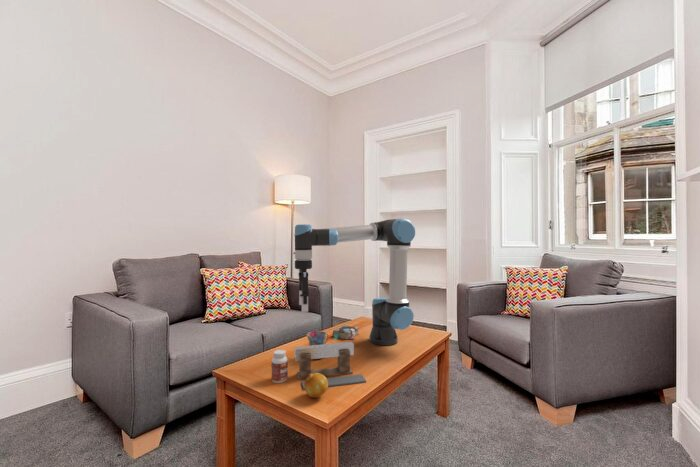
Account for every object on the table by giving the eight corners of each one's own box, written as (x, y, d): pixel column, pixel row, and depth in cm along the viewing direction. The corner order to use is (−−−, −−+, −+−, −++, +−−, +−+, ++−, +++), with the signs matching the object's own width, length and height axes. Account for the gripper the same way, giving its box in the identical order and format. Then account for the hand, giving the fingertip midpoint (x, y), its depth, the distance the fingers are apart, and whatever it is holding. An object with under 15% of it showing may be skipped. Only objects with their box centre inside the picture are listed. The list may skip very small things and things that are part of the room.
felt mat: (361, 375, 133) (361, 374, 133) (366, 382, 127) (366, 380, 127) (301, 383, 127) (301, 381, 127) (303, 390, 121) (303, 388, 121)
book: (346, 344, 172) (346, 334, 172) (326, 340, 178) (326, 331, 178) (364, 333, 189) (364, 325, 189) (345, 330, 195) (345, 322, 195)
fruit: (301, 401, 113) (301, 377, 113) (308, 390, 121) (308, 368, 121) (325, 403, 112) (324, 379, 112) (330, 391, 120) (330, 369, 120)
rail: (351, 352, 140) (351, 341, 140) (353, 354, 137) (353, 343, 137) (294, 358, 133) (294, 347, 133) (295, 360, 131) (295, 349, 131)
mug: (315, 362, 147) (315, 338, 147) (302, 357, 153) (302, 334, 153) (335, 354, 156) (334, 332, 156) (321, 350, 162) (321, 328, 162)
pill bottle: (282, 384, 125) (281, 355, 125) (268, 382, 128) (268, 353, 128) (290, 377, 131) (290, 350, 131) (277, 375, 134) (277, 348, 133)
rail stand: (348, 367, 141) (348, 345, 141) (352, 373, 135) (352, 350, 135) (296, 373, 135) (296, 350, 135) (298, 379, 129) (298, 355, 129)
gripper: (293, 257, 156) (293, 302, 156) (296, 262, 132) (296, 315, 132) (309, 257, 158) (309, 301, 158) (315, 261, 134) (315, 314, 134)
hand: (303, 308), depth 145 cm, fingers open, 13 cm apart
